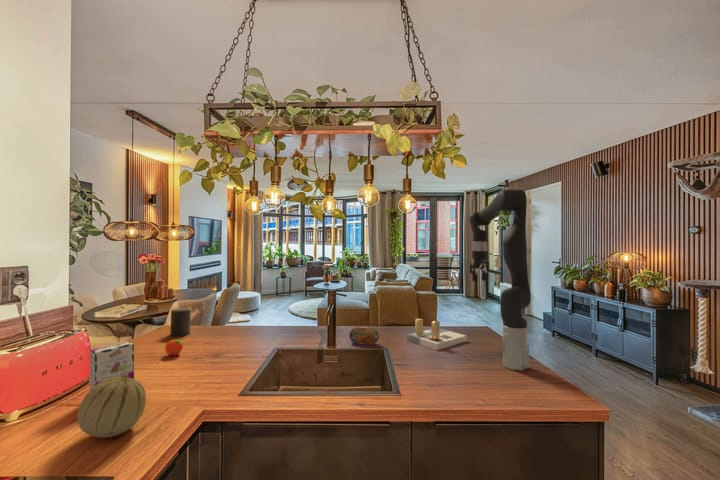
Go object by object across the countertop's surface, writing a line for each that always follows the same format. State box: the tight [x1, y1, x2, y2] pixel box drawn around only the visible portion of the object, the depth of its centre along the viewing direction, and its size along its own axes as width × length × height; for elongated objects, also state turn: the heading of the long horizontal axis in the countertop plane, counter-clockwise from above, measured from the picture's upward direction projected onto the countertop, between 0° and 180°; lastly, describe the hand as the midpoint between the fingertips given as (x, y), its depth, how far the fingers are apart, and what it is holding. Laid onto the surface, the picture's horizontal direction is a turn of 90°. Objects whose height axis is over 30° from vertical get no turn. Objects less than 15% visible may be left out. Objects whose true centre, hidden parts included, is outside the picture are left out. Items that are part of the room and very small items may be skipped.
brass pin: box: [431, 320, 441, 342], centre depth 165 cm, size 4×4×12 cm
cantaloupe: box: [77, 374, 147, 439], centre depth 88 cm, size 15×15×15 cm
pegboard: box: [406, 318, 467, 351], centre depth 174 cm, size 20×24×11 cm
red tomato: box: [164, 339, 184, 356], centre depth 148 cm, size 8×7×7 cm
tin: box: [348, 326, 380, 346], centre depth 168 cm, size 15×3×8 cm, turn 80°
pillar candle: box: [169, 307, 192, 337], centre depth 181 cm, size 10×10×15 cm
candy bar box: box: [89, 341, 135, 391], centre depth 109 cm, size 11×5×16 cm, turn 148°
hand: (479, 281), depth 172 cm, fingers open, 8 cm apart
